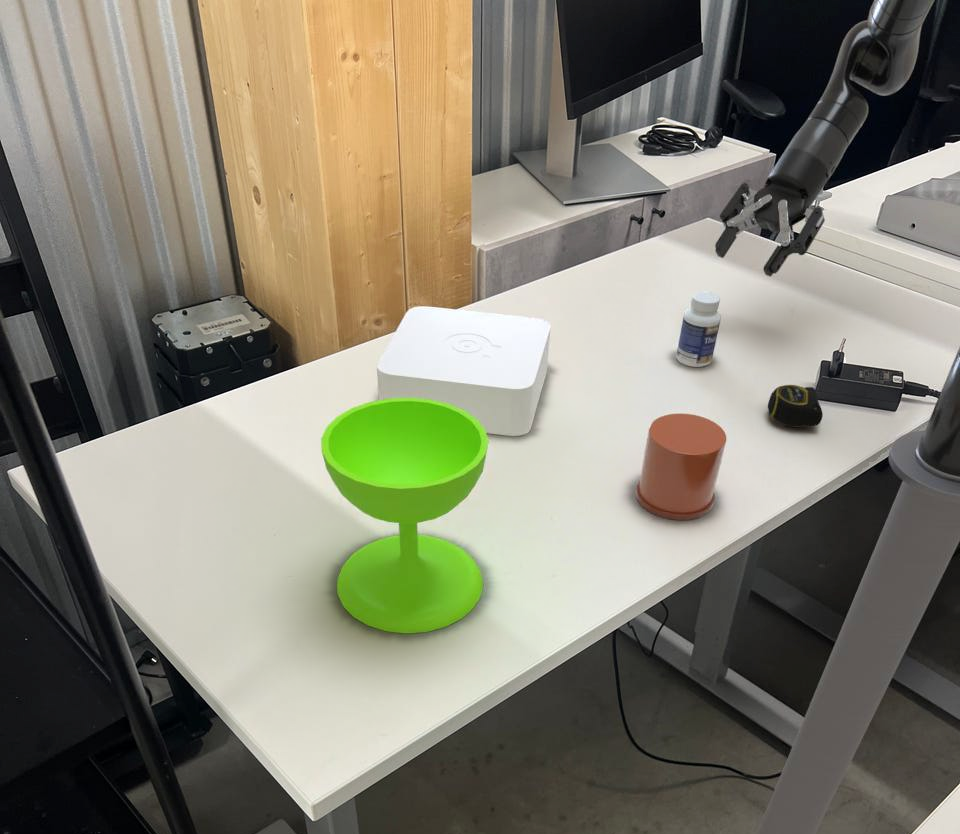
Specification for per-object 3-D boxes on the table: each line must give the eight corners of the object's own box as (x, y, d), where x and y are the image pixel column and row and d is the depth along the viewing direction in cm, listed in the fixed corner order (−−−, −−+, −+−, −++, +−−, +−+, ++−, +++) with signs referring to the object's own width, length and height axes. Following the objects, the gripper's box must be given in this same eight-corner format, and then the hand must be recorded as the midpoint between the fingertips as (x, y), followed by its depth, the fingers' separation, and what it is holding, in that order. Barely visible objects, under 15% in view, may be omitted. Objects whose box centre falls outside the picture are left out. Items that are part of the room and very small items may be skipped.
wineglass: (413, 520, 109) (409, 381, 96) (513, 583, 101) (522, 441, 88) (306, 582, 100) (286, 438, 88) (406, 656, 92) (399, 510, 80)
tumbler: (729, 505, 113) (746, 441, 106) (669, 529, 109) (683, 464, 102) (678, 467, 118) (691, 404, 112) (619, 488, 114) (629, 424, 108)
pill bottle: (703, 371, 137) (717, 308, 130) (670, 361, 139) (681, 298, 132) (716, 357, 140) (730, 294, 133) (684, 348, 142) (696, 285, 135)
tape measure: (818, 434, 125) (826, 410, 122) (767, 429, 125) (774, 405, 123) (812, 408, 130) (819, 384, 127) (763, 404, 130) (769, 380, 128)
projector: (550, 359, 138) (554, 315, 133) (528, 438, 122) (531, 391, 117) (414, 344, 140) (413, 300, 136) (375, 419, 125) (372, 372, 120)
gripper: (759, 134, 133) (695, 235, 135) (846, 160, 125) (777, 265, 128) (771, 166, 139) (710, 262, 141) (855, 192, 132) (789, 292, 134)
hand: (742, 263), depth 134 cm, fingers open, 8 cm apart
